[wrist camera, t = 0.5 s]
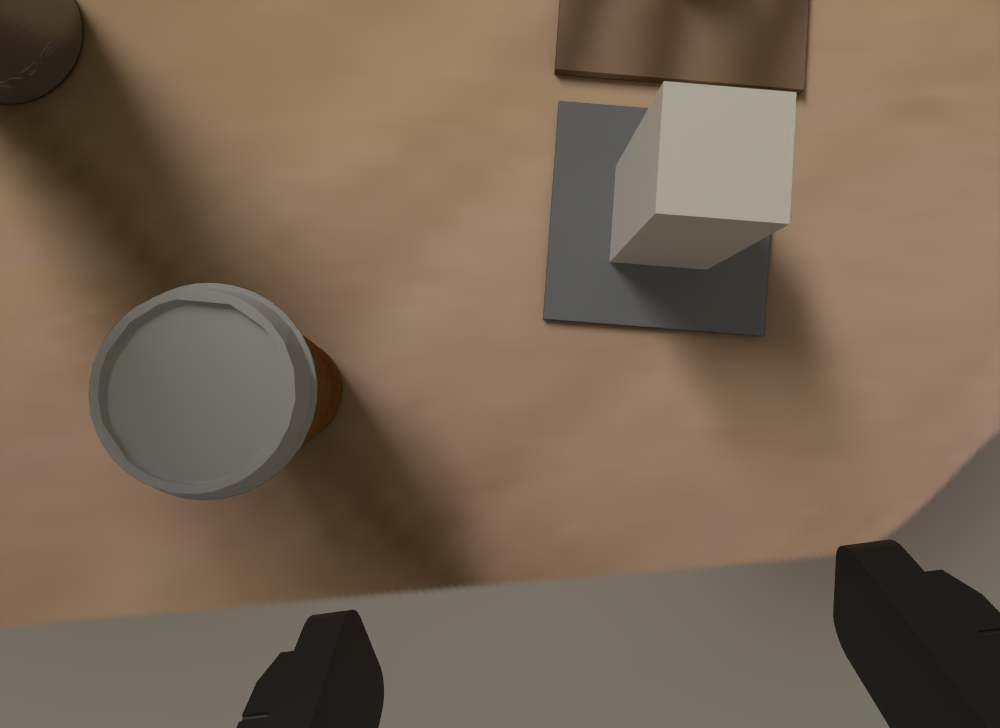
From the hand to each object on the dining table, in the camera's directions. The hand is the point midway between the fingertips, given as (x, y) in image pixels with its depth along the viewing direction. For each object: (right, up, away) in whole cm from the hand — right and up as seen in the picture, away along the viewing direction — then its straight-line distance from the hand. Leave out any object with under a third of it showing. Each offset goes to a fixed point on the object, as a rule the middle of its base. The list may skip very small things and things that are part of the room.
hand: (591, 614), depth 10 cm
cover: (+9, +14, +27) cm, 31 cm away
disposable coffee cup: (-15, +3, +26) cm, 30 cm away
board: (+11, +30, +28) cm, 43 cm away
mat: (+9, +14, +27) cm, 31 cm away
